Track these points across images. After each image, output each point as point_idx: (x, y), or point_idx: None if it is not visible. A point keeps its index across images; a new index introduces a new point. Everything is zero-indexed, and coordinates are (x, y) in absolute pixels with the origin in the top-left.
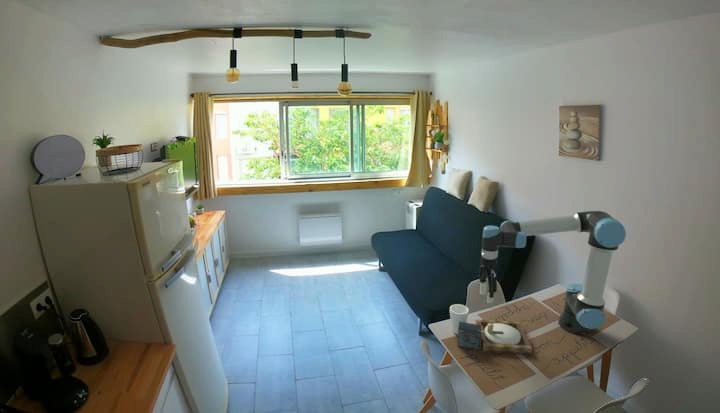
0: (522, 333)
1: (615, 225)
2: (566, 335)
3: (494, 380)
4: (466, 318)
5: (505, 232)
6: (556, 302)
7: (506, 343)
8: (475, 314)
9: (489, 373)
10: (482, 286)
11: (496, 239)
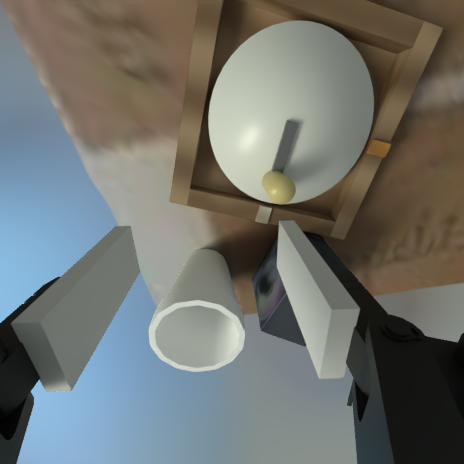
0: (320, 4)
1: None
2: None
3: (452, 246)
4: (228, 289)
5: None
6: None
7: (363, 144)
8: (90, 162)
9: (422, 248)
10: (94, 326)
11: None
